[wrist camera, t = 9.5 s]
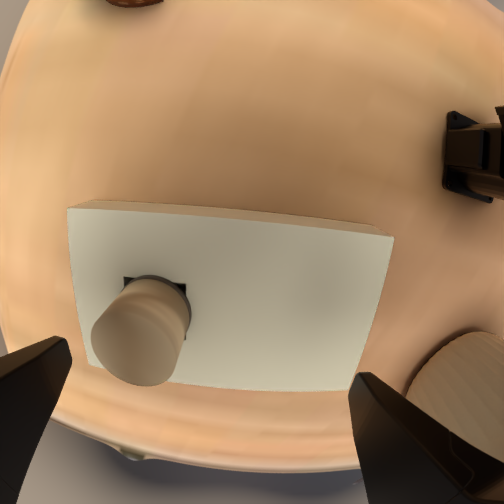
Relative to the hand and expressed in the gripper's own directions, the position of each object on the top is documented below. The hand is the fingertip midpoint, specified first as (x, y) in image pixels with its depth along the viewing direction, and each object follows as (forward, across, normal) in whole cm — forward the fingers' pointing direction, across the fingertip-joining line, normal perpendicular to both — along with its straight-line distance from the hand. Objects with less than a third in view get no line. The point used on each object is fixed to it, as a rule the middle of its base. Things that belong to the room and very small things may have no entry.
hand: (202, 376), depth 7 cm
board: (+12, 0, +3) cm, 13 cm away
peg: (+11, +4, +3) cm, 13 cm away
